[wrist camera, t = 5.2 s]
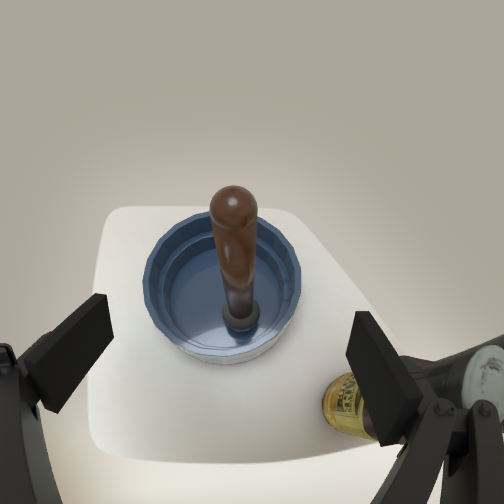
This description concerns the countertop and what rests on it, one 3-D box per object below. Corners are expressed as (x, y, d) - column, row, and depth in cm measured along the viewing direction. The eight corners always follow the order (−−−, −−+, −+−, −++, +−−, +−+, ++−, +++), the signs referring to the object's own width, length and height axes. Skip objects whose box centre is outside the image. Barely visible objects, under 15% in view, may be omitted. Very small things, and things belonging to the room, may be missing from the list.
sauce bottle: (348, 362, 28) (485, 282, 10) (385, 401, 25) (541, 361, 8) (303, 406, 25) (422, 393, 8) (343, 446, 23) (491, 472, 6)
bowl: (292, 244, 34) (299, 214, 29) (290, 368, 27) (300, 360, 22) (172, 237, 34) (160, 207, 29) (151, 356, 28) (130, 344, 22)
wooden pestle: (216, 313, 29) (176, 188, 13) (245, 294, 30) (242, 154, 14) (237, 342, 28) (220, 244, 11) (266, 321, 29) (292, 201, 12)
